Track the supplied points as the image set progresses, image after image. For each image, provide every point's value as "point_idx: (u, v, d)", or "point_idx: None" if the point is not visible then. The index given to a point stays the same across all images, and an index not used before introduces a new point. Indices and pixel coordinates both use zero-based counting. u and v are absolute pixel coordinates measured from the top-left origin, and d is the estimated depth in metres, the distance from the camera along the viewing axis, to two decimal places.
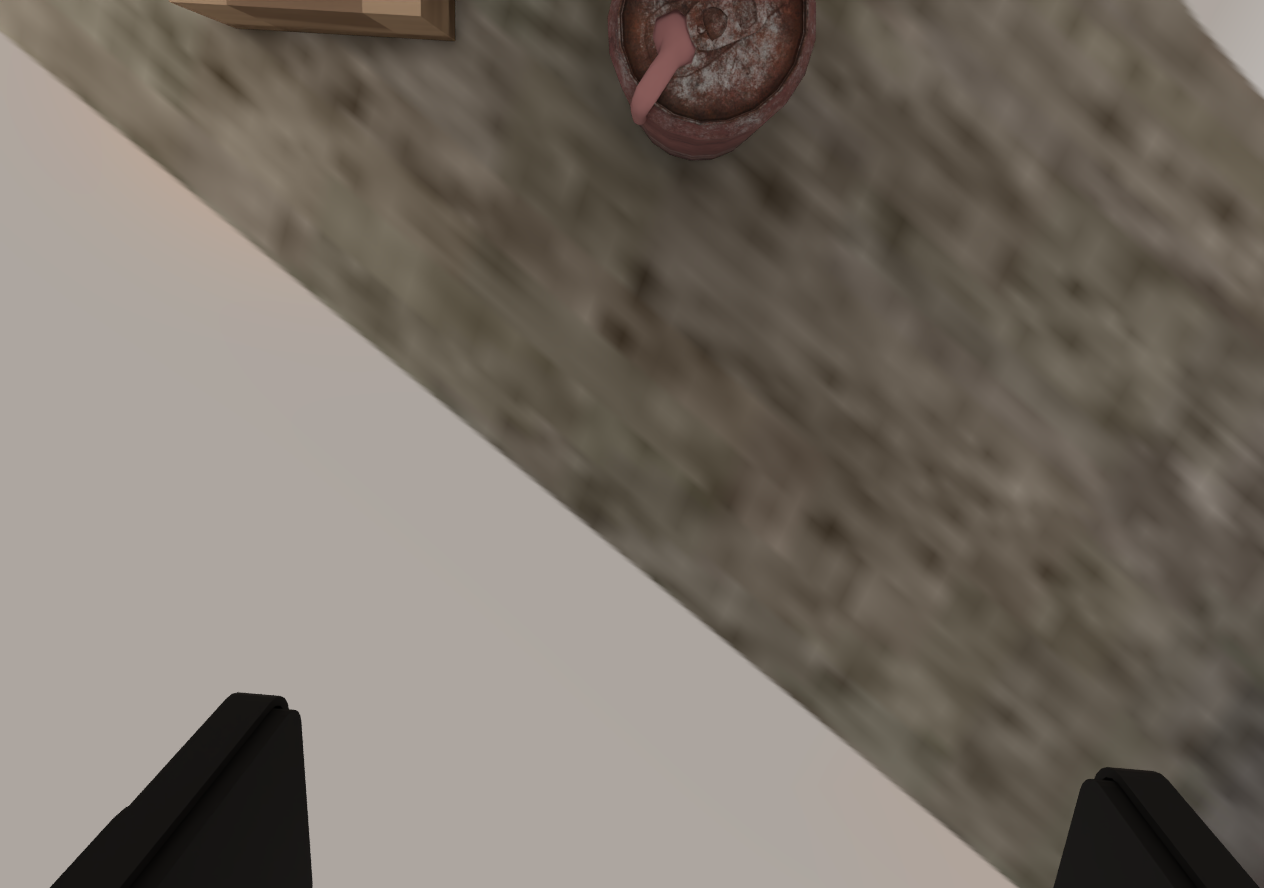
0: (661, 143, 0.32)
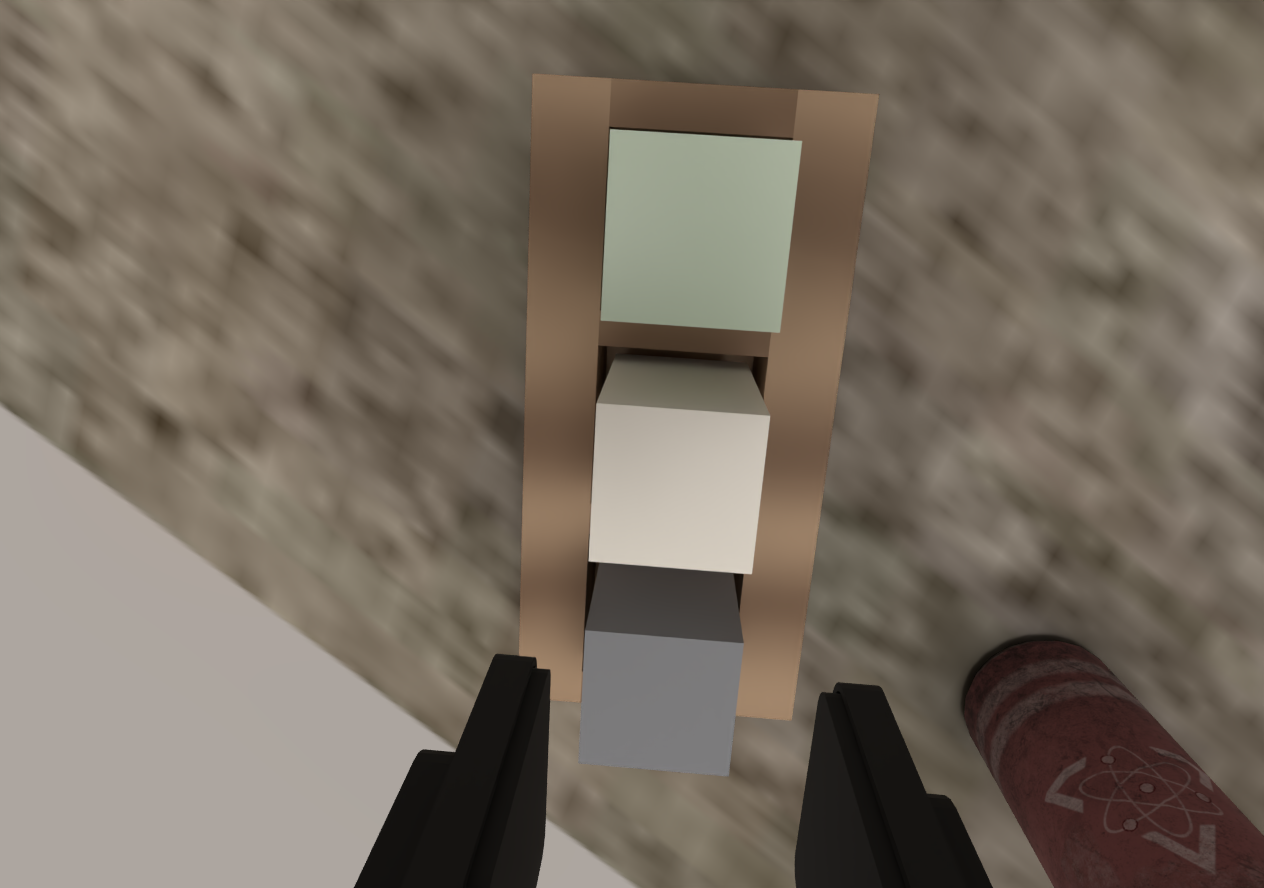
0: None
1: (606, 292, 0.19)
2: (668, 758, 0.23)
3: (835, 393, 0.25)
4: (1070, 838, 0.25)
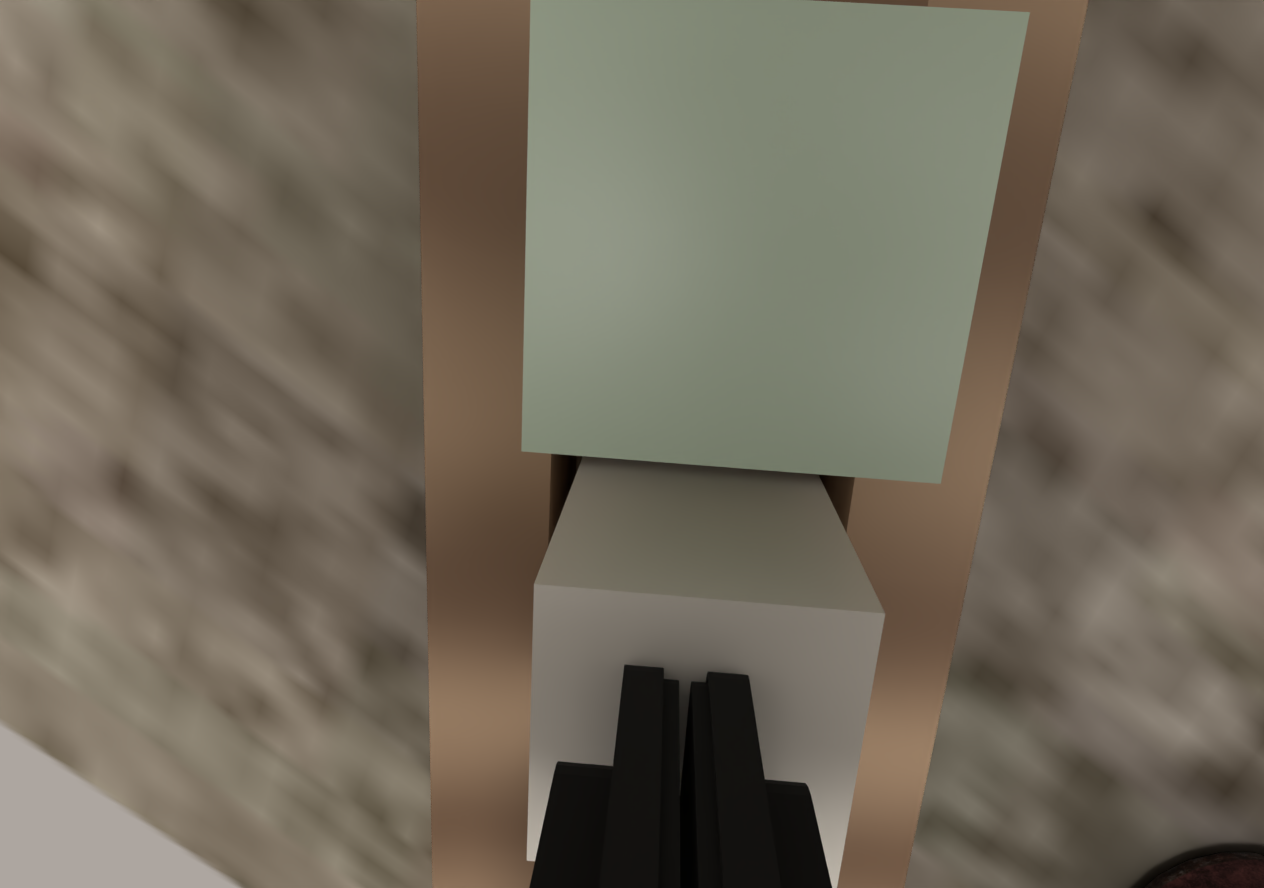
0: None
1: (533, 389, 0.08)
2: None
3: (976, 526, 0.14)
4: None
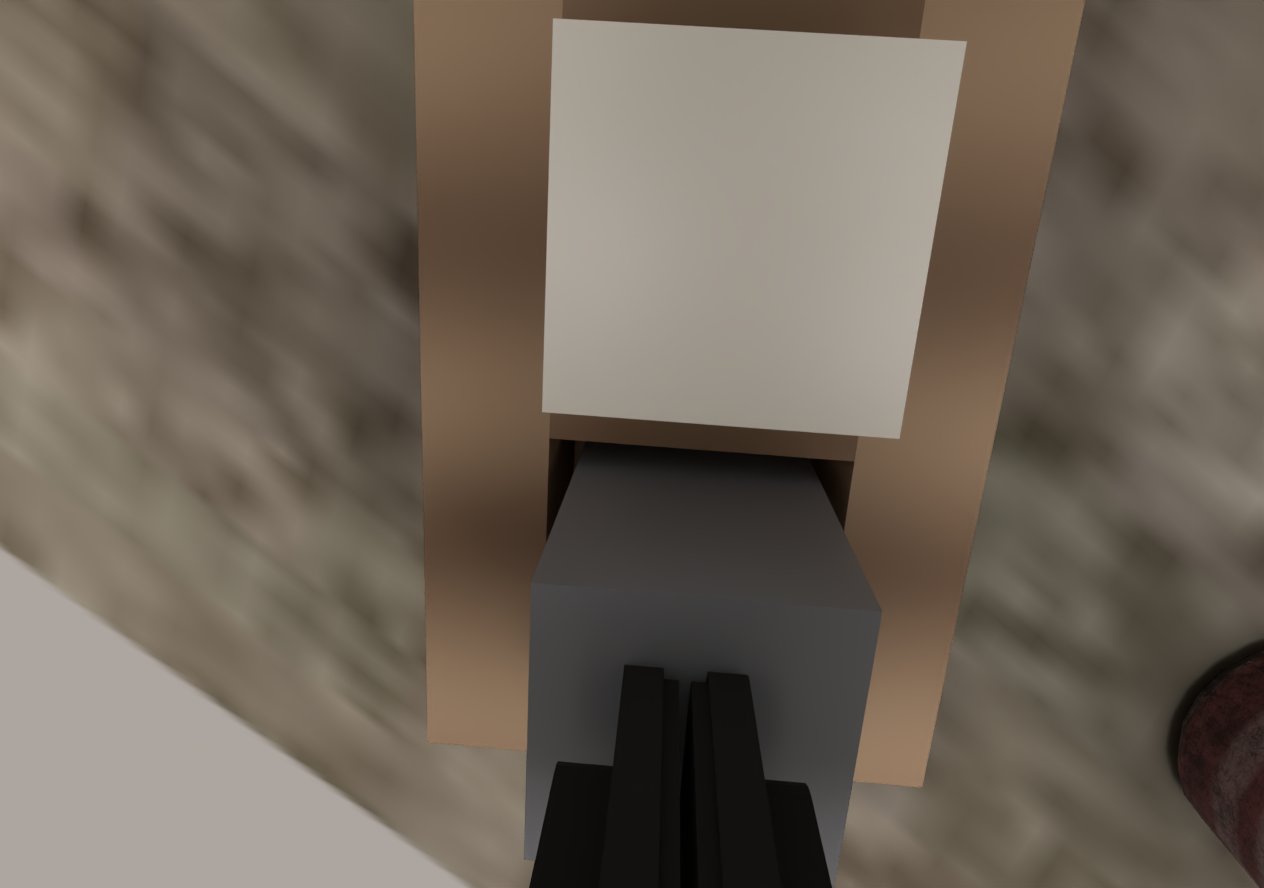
0: None
1: None
2: None
3: (1053, 134, 0.12)
4: None
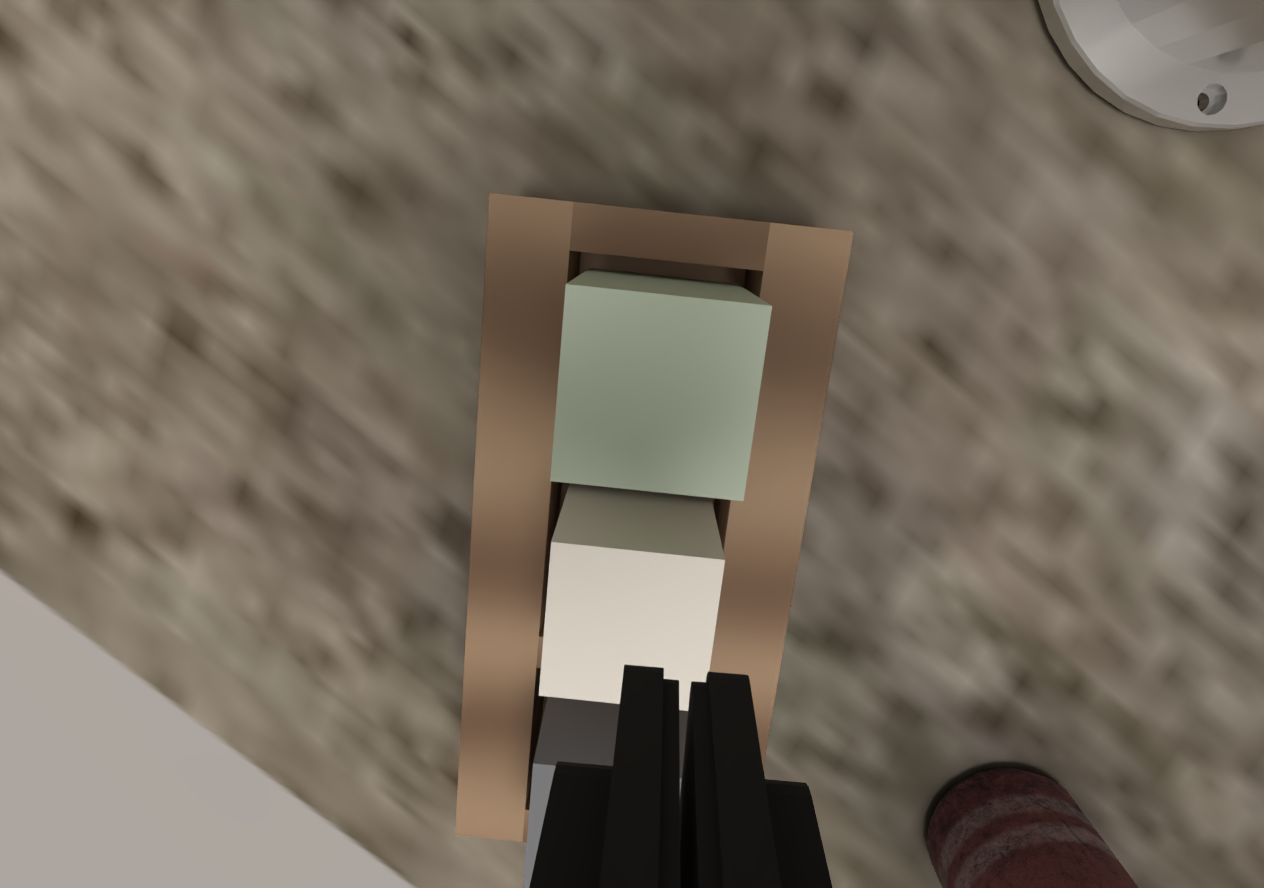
0: None
1: (557, 452, 0.18)
2: None
3: (801, 532, 0.24)
4: None
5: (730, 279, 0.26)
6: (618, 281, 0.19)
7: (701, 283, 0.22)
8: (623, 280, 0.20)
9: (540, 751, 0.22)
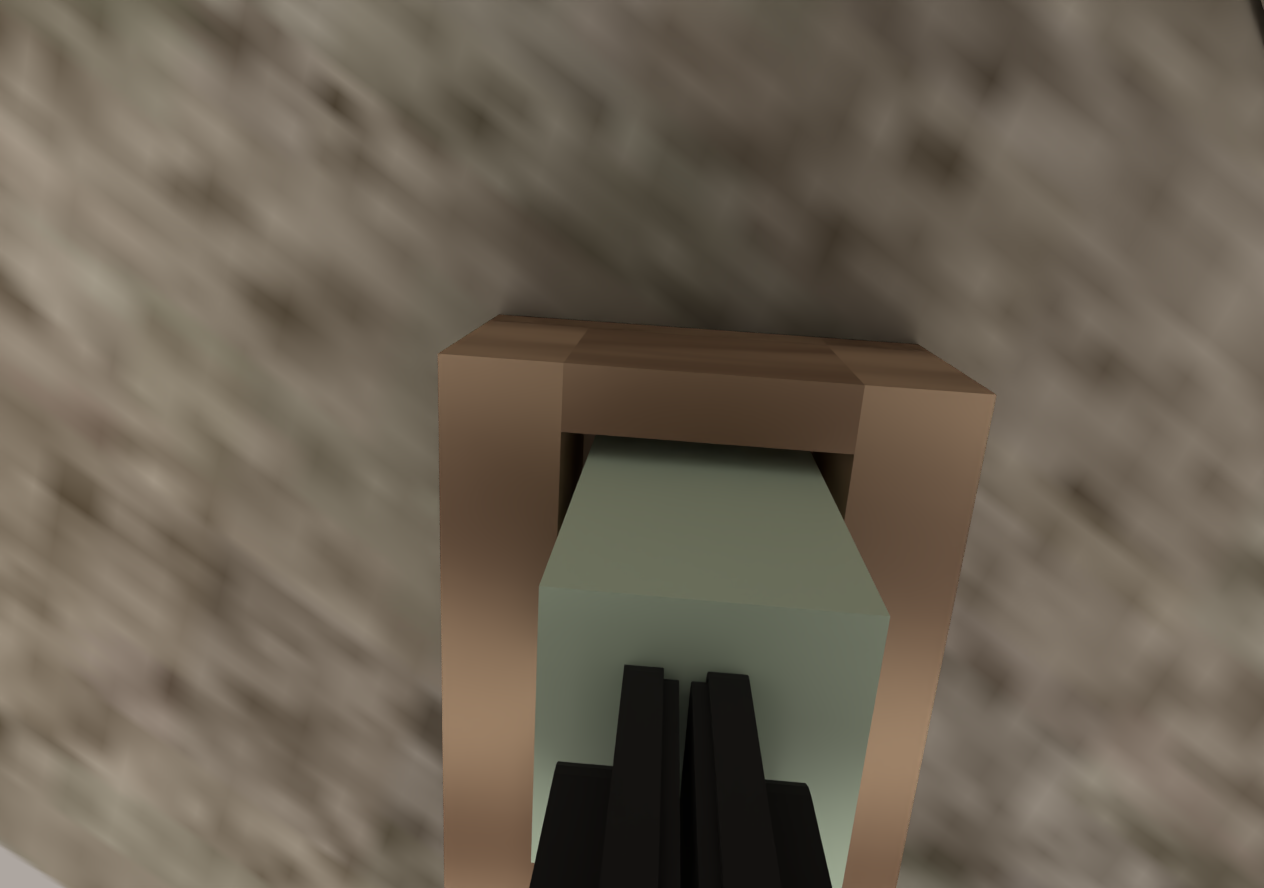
0: None
1: (540, 823, 0.11)
2: None
3: (910, 802, 0.17)
4: None
5: None
6: (632, 515, 0.13)
7: (758, 470, 0.15)
8: (641, 503, 0.13)
9: None
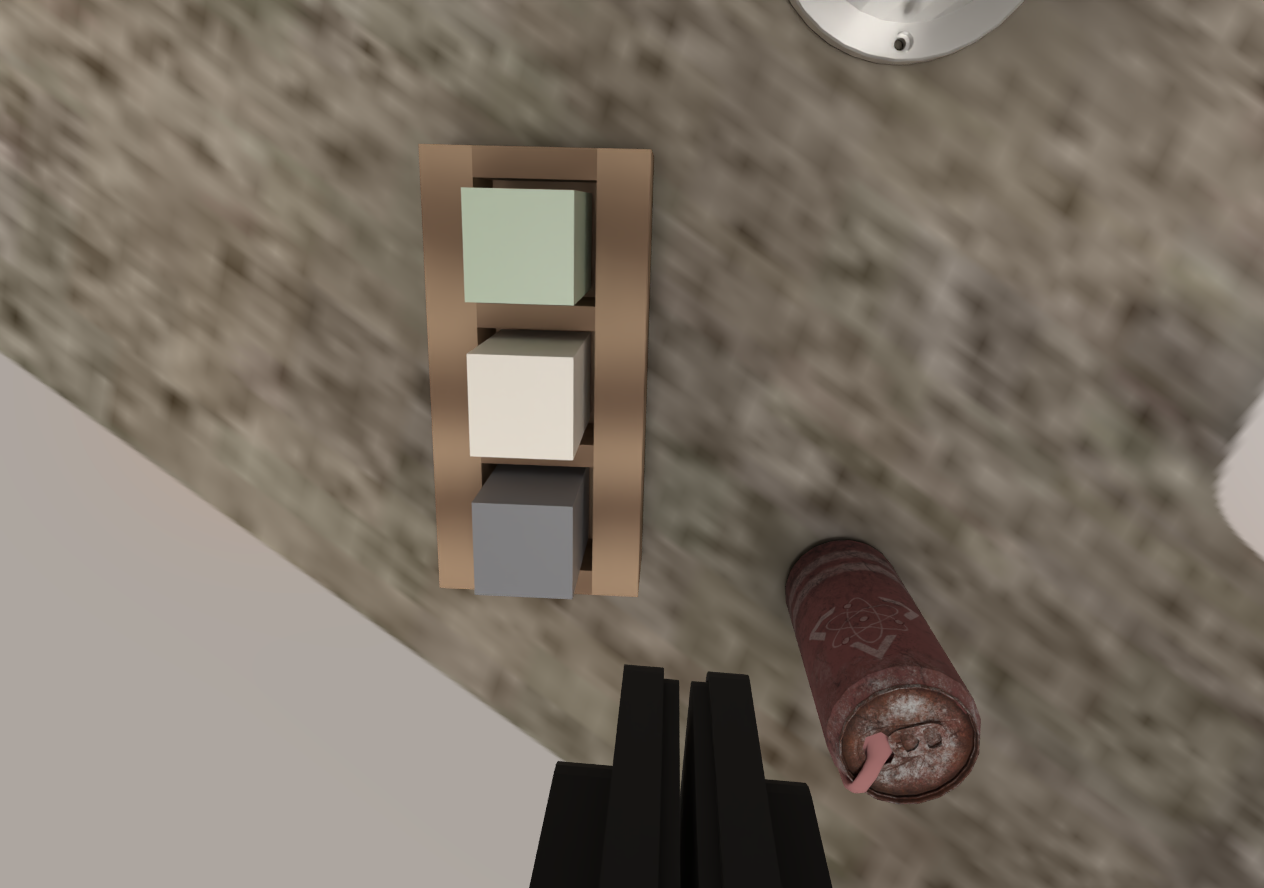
0: None
1: (467, 284, 0.32)
2: (532, 588, 0.36)
3: (643, 354, 0.36)
4: (815, 658, 0.36)
5: (594, 194, 0.38)
6: None
7: None
8: None
9: (477, 498, 0.35)
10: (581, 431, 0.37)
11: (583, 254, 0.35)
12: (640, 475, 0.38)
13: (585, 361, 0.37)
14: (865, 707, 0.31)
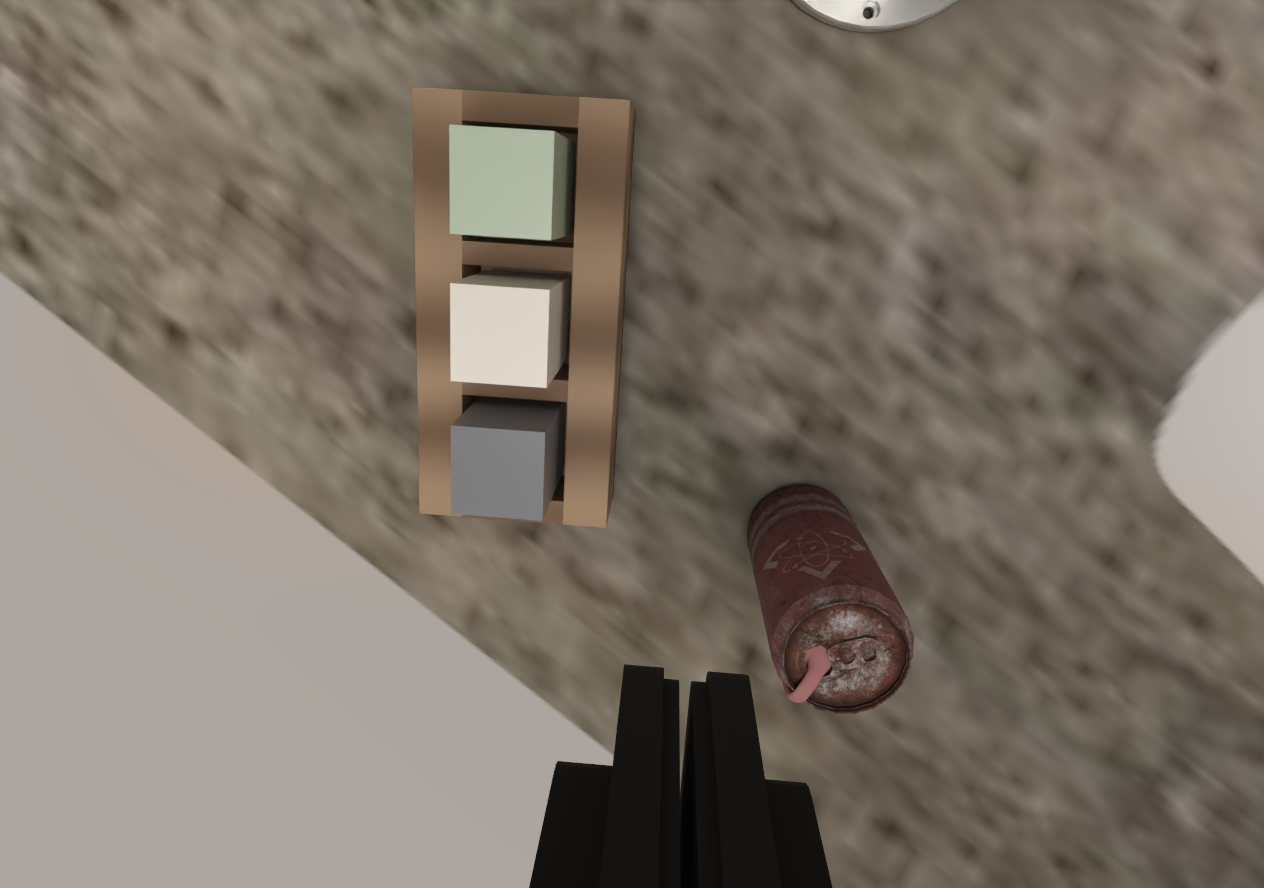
0: None
1: (452, 217, 0.34)
2: (505, 509, 0.38)
3: (617, 295, 0.39)
4: (767, 584, 0.38)
5: (578, 144, 0.41)
6: None
7: None
8: None
9: (456, 422, 0.37)
10: (556, 366, 0.39)
11: (563, 197, 0.37)
12: (611, 411, 0.41)
13: (563, 301, 0.40)
14: (807, 621, 0.34)
